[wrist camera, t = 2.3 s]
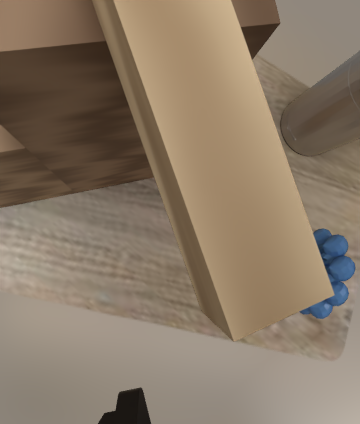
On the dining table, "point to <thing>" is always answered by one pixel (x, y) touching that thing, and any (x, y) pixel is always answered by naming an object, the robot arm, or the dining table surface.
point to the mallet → (216, 160)
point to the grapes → (332, 271)
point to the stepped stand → (74, 99)
